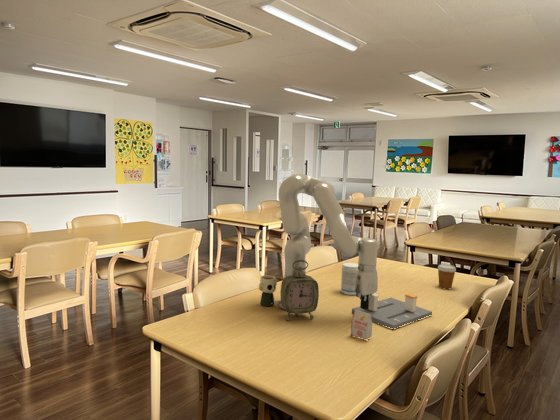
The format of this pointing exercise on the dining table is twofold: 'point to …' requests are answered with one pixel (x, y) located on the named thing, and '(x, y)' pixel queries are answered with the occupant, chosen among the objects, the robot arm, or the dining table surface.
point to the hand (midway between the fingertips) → (364, 308)
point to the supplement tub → (349, 278)
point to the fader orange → (410, 302)
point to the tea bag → (361, 325)
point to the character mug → (267, 289)
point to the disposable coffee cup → (446, 275)
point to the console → (394, 313)
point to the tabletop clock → (299, 293)
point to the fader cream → (373, 302)
